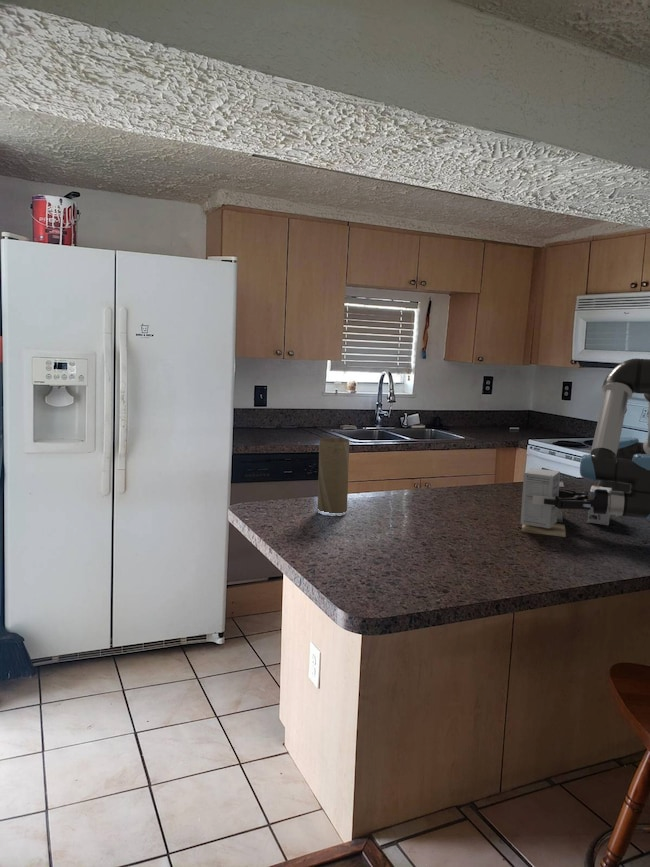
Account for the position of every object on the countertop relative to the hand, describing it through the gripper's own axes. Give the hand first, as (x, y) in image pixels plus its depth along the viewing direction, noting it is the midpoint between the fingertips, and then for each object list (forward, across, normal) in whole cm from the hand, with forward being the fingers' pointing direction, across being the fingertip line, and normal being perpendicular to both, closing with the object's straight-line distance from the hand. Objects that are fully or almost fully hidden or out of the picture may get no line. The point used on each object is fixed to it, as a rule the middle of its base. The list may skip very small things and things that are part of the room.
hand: (532, 495), depth 208 cm
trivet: (-4, 0, -11) cm, 11 cm away
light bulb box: (-22, +18, -11) cm, 31 cm away
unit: (-6, +15, -11) cm, 19 cm away
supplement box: (-2, 0, -9) cm, 9 cm away
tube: (+64, -9, -11) cm, 65 cm away
